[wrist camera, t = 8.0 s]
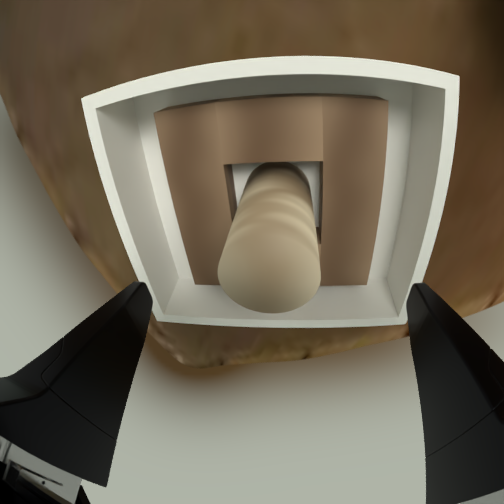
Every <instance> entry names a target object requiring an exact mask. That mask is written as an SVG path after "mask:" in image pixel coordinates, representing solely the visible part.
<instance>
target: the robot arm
mask: <svg viewBox="0 0 504 504" xmlns="http://www.w3.org/2000/svg"><path fill="white" fill-rule="evenodd" d="M152 306H153V299H152V296H151V294H150V291H149V289H148V287H147V285H146V283H145V282H137V281H136V282H133V283H132V284H130V285H129V286H128V287H126V288H125V289H124V290H122V291H121V292H120V293H118V294H117V295H116V296H115V297H114V298H112V299H110V300H109V301H108V302H107V303H105V304H104V305H103V306H101V307H100V308H99V309H98V310H96V311H95V312H94V313H92V314H91V315H90V316H89V317H87V318H86V319H85V320H84V321H82V322H81V323H80V324H79V325H77V326H76V327H75V328H74V329H72V330H71V331H70V332H69V333H67V334H66V335H65V336H64V338H61V339H60V340H59V341H58V342H56V343H55V344H54V345H53V346H51V347H50V348H49V349H48V350H46V351H45V352H44V353H42V354H41V355H40V356H38V357H37V358H35V359H34V360H33V361H31V362H30V363H28V364H27V365H26V366H25V367H23V368H22V369H20V370H19V371H17V372H16V373H15V374H13V375H10V376H8V377H2V378H0V504H90V502H89V500H88V498H87V496H86V493H85V491H84V489H83V487H82V485H80V484H81V481H82V479H85V480H87V481H90V482H92V483H95V484H98V485H100V486H103V487H106V486H107V482H108V478H109V473H110V468H111V464H112V459H113V455H114V450H115V446H116V440H117V437H118V433H119V429H120V425H121V421H122V417H123V413H124V410H125V406H126V402H127V399H128V394H129V392H130V388H131V384H132V381H133V378H134V374H135V371H136V367H137V364H138V361H139V358H140V355H141V351H142V348H143V345H144V342H145V338H146V333H147V329H148V324H149V320H150V315H151V311H152ZM406 310H407V317H408V325H409V334H410V343H411V350H412V356H413V361H414V366H415V372H416V377H417V383H418V390H419V397H420V404H421V412H422V421H423V430H424V442H425V457H426V459H425V460H426V504H458V503H460V504H504V362H503V361H502V359H500V357H498V355H497V354H496V353H495V352H494V351H493V350H492V349H490V347H489V346H488V345H487V343H486V342H485V341H484V340H483V339H482V338H481V337H480V336H479V335H478V334H477V333H476V332H475V331H474V330H473V329H472V328H471V327H470V326H469V325H468V324H467V323H466V322H465V321H464V320H463V319H462V318H461V317H460V316H459V315H458V314H457V313H456V312H455V311H454V310H453V309H452V308H451V307H450V306H449V305H448V304H447V303H446V302H445V301H444V300H443V299H442V298H441V297H440V296H439V295H438V294H436V293H435V292H434V291H433V290H432V289H431V288H430V287H429V286H428V285H427V284H425V283H414V284H413V285H412V287H411V290H410V293H409V296H408V298H407V302H406Z"/></svg>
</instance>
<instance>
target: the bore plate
mask: <svg viewBox="0 0 504 504" xmlns="http://www.w3.org/2000/svg"><path fill="white" fill-rule="evenodd" d="M388 106H389V101H388V100H385V99H383V98H380V97H378V96H368V95H354V94H331V93H290V94H267V95H252V96H240V97H230V98H221V99H213V100H206V101H199V102H193V103H186V104H180V105H175V106H170V107H166V108H164V109H161V110H159V111H157V112H154V113H153V114H154V119H155V124H156V129H157V135H158V139H159V144H160V149H161V154H162V158H163V163H164V167H165V172H166V176H167V181H168V185H169V189H170V193H171V198H172V202H173V206H174V210H175V214H176V218H177V222H178V225H179V229H180V233H181V237H182V241H183V244H184V248H185V252H186V255H187V259H188V262H189V266H190V269H191V273H192V276H193V280H194V283H195V285H220V282H219V279H218V265H219V262H220V258H221V255H222V252H223V249H224V246H225V243H226V240H227V237H228V234H229V231H230V228H231V225H232V222H233V219H234V217H235V214H236V211H237V208H238V207H237V200H236V192H235V185H234V177H233V170H232V164H240V163H259V162H290V161H320V186H319V227H316V234H317V243H318V252H319V261H320V271H321V281H320V285H319V286H350V285H367V282H368V277H369V272H370V268H371V262H372V257H373V252H374V246H375V241H376V235H377V228H378V222H379V215H380V208H381V200H382V192H383V183H384V174H385V163H386V150H387V134H388Z"/></svg>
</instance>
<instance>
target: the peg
mask: <svg viewBox="0 0 504 504" xmlns="http://www.w3.org/2000/svg"><path fill="white" fill-rule="evenodd" d="M218 279H219V282H220V285H221V287H222V289H223V290H224V292H225V293H226V294H227V295H228V296H229V297H230V298H231V299H232V300H233V301H234V302H236V303H237V304H239V305H241V306H243V307H245V308H247V309H250V310H253V311H256V312H261V313H284V312H288V311H292V310H295V309H297V308H299V307H301V306H303V305H304V304H306V303H307V302H308V301H310V300H311V299H312V298H313V296H314V295H315V294H316V292H317V290H318V288H319V285H320V281H321V271H320V261H319V252H318V243H317V234H316V226H315V218H314V211H313V203H312V196H311V189H310V184H309V181H308V179H307V177H306V175H305V174H304V172H303V171H302V170H301V169H299V168H298V167H297V166H295V165H293V164H291V163H289V162H266V163H263V164H261V165H259V166H258V167H256V168H255V169H254V170H253V171H252V172H251V174H250V175H249V177H248V179H247V182H246V185H245V187H244V190H243V193H242V196H241V199H240V202H239V205H238V208H237V211H236V214H235V217H234V219H233V222H232V225H231V228H230V231H229V234H228V237H227V240H226V243H225V246H224V249H223V252H222V255H221V258H220V262H219V265H218Z"/></svg>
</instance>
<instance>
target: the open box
mask: <svg viewBox="0 0 504 504" xmlns="http://www.w3.org/2000/svg"><path fill="white" fill-rule="evenodd" d="M290 93H331V94H354V95H368V96H378V97H380V98H383V99H385V100H388V101H389V106H388V134H387V150H386V163H385V174H384V183H383V192H382V200H381V208H380V215H379V222H378V228H377V235H376V241H375V246H374V252H373V257H372V262H371V268H370V272H369V277H368V282H367V285H350V286H319V288H318V290H317V292H316V294H315V295H314V296H313V298H312V299H311V300H310V301H308V302H307V303H306V304H304V305H303V306H301V307H299V308H297V309H295V310H292V311H288V312H284V313H261V312H256V311H253V310H250V309H247V308H245V307H243V306H241V305H239V304H237V303H236V302H234V301H233V300H232V299H231V298H230V297H229V296H228V295H227V294H226V293H225V292H224V290H223V289H222V287H221V285H195V283H194V280H193V276H192V273H191V269H190V266H189V262H188V259H187V255H186V252H185V248H184V244H183V241H182V237H181V233H180V229H179V225H178V222H177V218H176V214H175V210H174V206H173V202H172V198H171V193H170V189H169V185H168V181H167V176H166V172H165V167H164V163H163V158H162V154H161V149H160V144H159V139H158V135H157V129H156V124H155V119H154V114H153V113H154V112H157V111H159V110H161V109H164V108H166V107H170V106H175V105H180V104H186V103H193V102H199V101H206V100H213V99H221V98H230V97H240V96H252V95H267V94H290ZM81 100H82V105H83V110H84V114H85V119H86V123H87V128H88V132H89V136H90V140H91V144H92V147H93V151H94V155H95V159H96V162H97V166H98V169H99V173H100V176H101V179H102V182H103V186H104V189H105V192H106V195H107V198H108V201H109V204H110V207H111V210H112V213H113V216H114V219H115V222H116V224H117V227H118V230H119V233H120V235H121V238H122V241H123V243H124V246H125V248H126V251H127V253H128V256H129V258H130V261H131V263H132V266H133V268H134V271H135V273H136V275H137V278H138V280H139V282H145V283H146V285H147V287H148V289H149V291H150V294H151V296H152V299H153V306H152V311H153V313H154V315H155V317H156V319H157V321H164V322H175V323H187V324H202V325H218V326H239V327H271V328H332V327H364V326H384V325H400V324H406V322H407V319H408V317H407V310H406V302H407V298H408V296H409V293H410V290H411V287H412V285H413V284H414V283H422V280H423V277H424V274H425V271H426V268H427V265H428V262H429V259H430V256H431V253H432V249H433V246H434V243H435V239H436V235H437V232H438V228H439V224H440V220H441V216H442V212H443V208H444V203H445V199H446V194H447V189H448V184H449V179H450V173H451V167H452V161H453V154H454V147H455V139H456V130H457V119H458V105H459V76H457V75H454V74H450V73H446V72H442V71H438V70H433V69H429V68H424V67H419V66H413V65H408V64H402V63H395V62H389V61H381V60H372V59H362V58H350V57H331V56H284V57H265V58H252V59H242V60H233V61H225V62H218V63H211V64H205V65H199V66H193V67H188V68H183V69H178V70H174V71H169V72H165V73H160V74H156V75H152V76H149V77H145V78H141V79H137V80H134V81H131V82H127V83H124V84H121V85H117V86H114V87H111V88H108V89H105V90H103V91H100V92H97V93H94V94H91V95H89V96H86V97H83V98H81ZM263 163H266V162H259V163H240V164H232V170H233V177H234V185H235V192H236V200H237V207H238V205H239V202H240V199H241V196H242V193H243V190H244V187H245V185H246V182H247V179H248V177H249V175H250V174H251V172H252V171H253V170H254V169H255V168H256V167H258V166H259V165H261V164H263ZM289 163H291V164H293V165H295V166H297V167H298V168H299V169H301V170H302V171H303V172H304V174H305V175H306V177H307V179H308V181H309V184H310V189H311V196H312V203H313V211H314V218H315V226H316V227H319V186H320V161H290V162H289Z"/></svg>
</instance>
